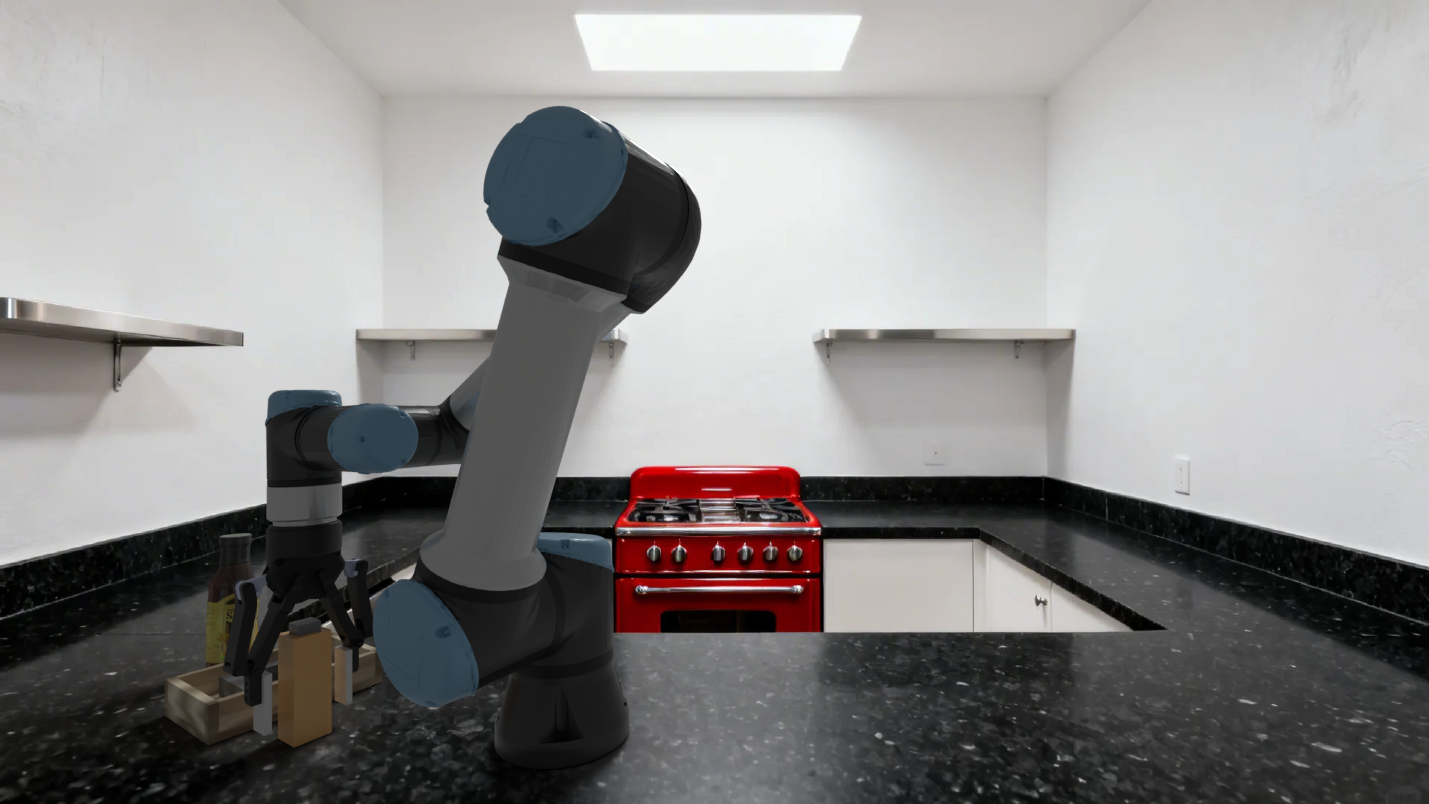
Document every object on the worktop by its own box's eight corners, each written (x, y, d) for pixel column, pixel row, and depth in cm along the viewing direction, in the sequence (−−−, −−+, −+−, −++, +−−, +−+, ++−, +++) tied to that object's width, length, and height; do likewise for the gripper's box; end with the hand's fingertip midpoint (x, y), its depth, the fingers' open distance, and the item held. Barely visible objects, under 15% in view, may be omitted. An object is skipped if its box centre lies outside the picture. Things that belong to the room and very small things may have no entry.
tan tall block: (331, 732, 74) (331, 619, 74) (294, 747, 71) (294, 629, 71) (315, 723, 76) (315, 614, 77) (277, 738, 73) (278, 623, 73)
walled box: (382, 682, 88) (382, 649, 88) (208, 745, 72) (208, 705, 72) (332, 662, 96) (332, 632, 96) (164, 715, 79) (164, 679, 79)
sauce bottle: (228, 678, 91) (229, 539, 91) (193, 675, 92) (194, 538, 92) (269, 661, 97) (269, 531, 98) (235, 658, 98) (236, 531, 99)
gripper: (375, 507, 85) (376, 677, 84) (183, 531, 68) (181, 746, 67) (407, 511, 81) (407, 690, 80) (210, 538, 63) (209, 766, 63)
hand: (304, 715), depth 74 cm, fingers open, 8 cm apart
